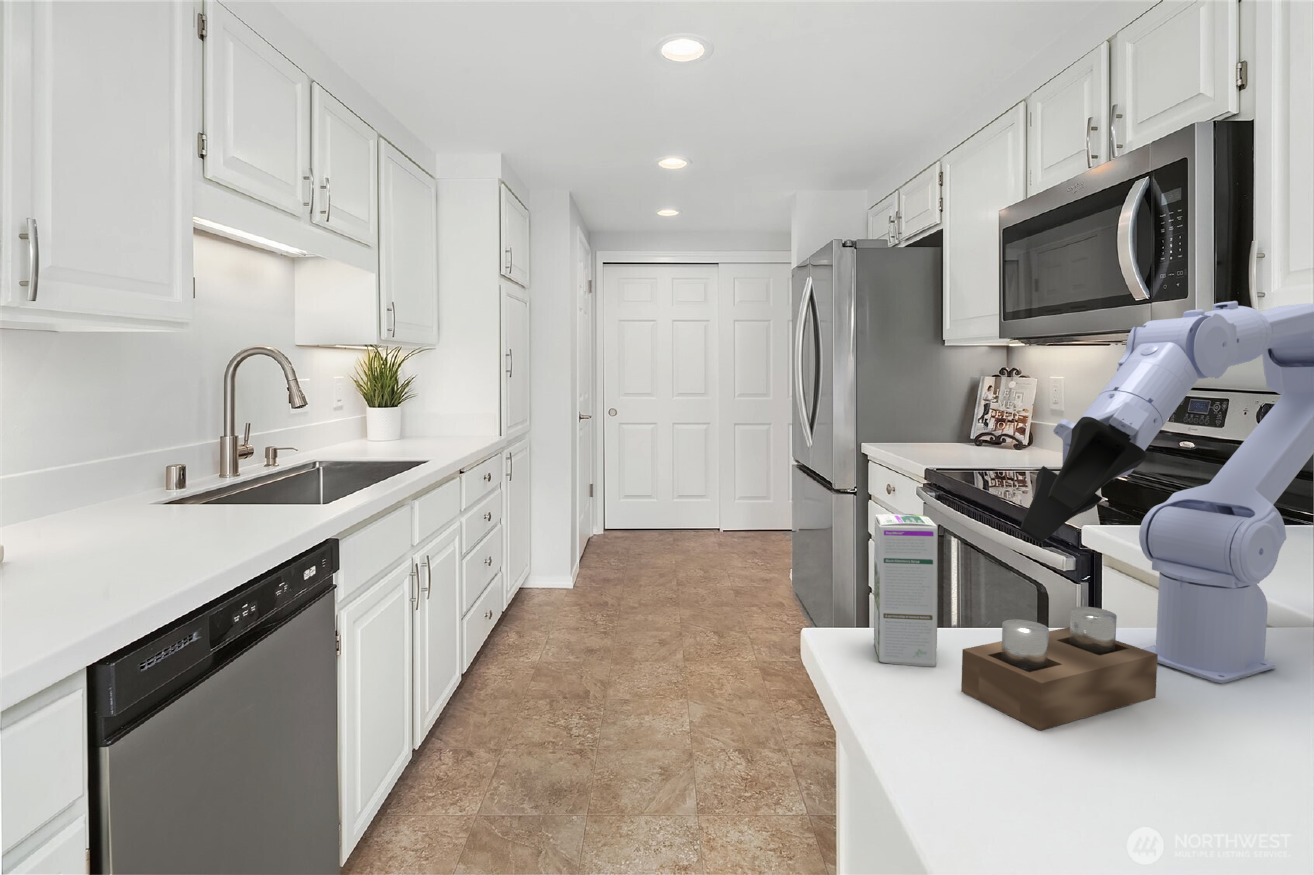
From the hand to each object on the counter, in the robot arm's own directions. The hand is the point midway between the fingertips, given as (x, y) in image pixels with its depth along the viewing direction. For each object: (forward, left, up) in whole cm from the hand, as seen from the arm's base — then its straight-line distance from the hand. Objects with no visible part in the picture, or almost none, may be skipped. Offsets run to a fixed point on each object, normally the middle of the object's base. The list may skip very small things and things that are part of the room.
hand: (1044, 520), depth 60 cm
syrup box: (+3, -14, -17) cm, 22 cm away
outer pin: (+1, -1, -13) cm, 13 cm away
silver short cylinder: (-8, -1, -13) cm, 15 cm away
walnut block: (-3, -1, -16) cm, 17 cm away
